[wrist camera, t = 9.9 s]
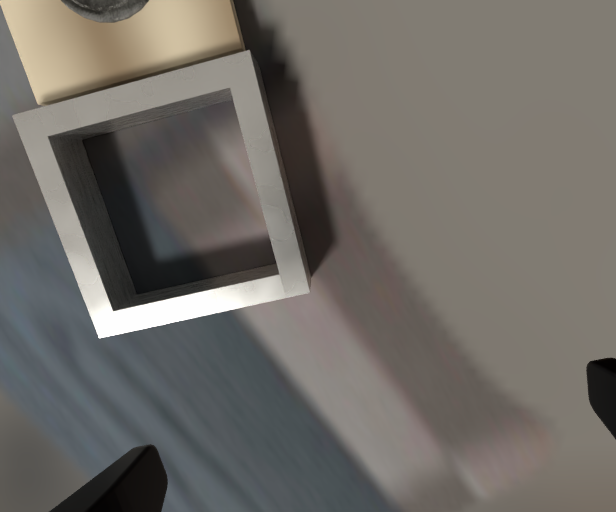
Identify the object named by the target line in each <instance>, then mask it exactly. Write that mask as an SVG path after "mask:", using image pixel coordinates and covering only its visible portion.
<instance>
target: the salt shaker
mask: <svg viewBox="0 0 616 512" xmlns="http://www.w3.org/2000/svg"><path fill="white" fill-rule="evenodd" d="M61 1H62V2H63V3H64V4H65V5H66V6H67V7H68V8H69V9H71V10H72V11H74V12H75V13H77V14H79V15H80V16H82V17H83V18H86V19H89V20H93V21H96V22H100V23H115V22H118V21H122V20H125V19H128V18H130V17H132V16H133V15H134V14H136V13H137V12H139V11H140V10H142V8H143V7H144V6H145V5H146V4H147V2H148V1H149V0H61Z"/></svg>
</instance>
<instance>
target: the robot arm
mask: <svg viewBox="0 0 616 512" xmlns="http://www.w3.org/2000/svg"><path fill="white" fill-rule="evenodd" d="M586 371H587V381H588V382H587V383H588V395H589V401H590V404H591V406H592V408H593V410H594V411H595V413H596V414H597V416H598V417H599V418H600V419H601V421H602V422H603V423H604V424H605V426H606V427H607V428H608V430H609V431H610V432H611V434H612V435H613V436H614V438H615V439H616V359H615V358H604V359H599V360H594V361H590V362H589V363H588V364H587V370H586ZM167 484H168V479H167V474H166V471H165V469H164V466H163V463H162V461H161V458H160V456H159V453H158V450H157V448H156V447H155V446H154V445H151V444H150V445H144V446H139V447H135V448H133V449H131V450H130V451H129V452H127V453H126V454H125V455H123V456H122V457H121V458H119V459H118V460H117V461H115V462H114V463H113V464H111V465H110V466H109V467H108V468H106V469H105V470H104V471H102V472H101V473H100V474H98V475H97V476H96V477H94V478H93V479H92V480H90V481H89V482H88V483H86V484H85V485H84V486H82V487H81V488H80V489H79V490H77V491H76V492H75V493H73V494H72V495H71V496H69V497H68V498H67V499H65V500H64V501H63V502H61V503H60V504H59V505H58V506H56V507H55V508H53V509H52V510H51V511H50V512H161V510H162V506H163V502H164V498H165V494H166V490H167Z"/></svg>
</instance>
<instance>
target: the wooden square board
mask: <svg viewBox="0 0 616 512" xmlns="http://www.w3.org/2000/svg"><path fill="white" fill-rule="evenodd" d="M0 5H1V7H2V10H3V13H4V15H5V18H6V21H7V23H8V26H9V29H10V31H11V34H12V37H13V39H14V42H15V45H16V47H17V50H18V53H19V55H20V58H21V61H22V63H23V66H24V69H25V71H26V74H27V77H28V79H29V82H30V85H31V87H32V90H33V93H34V95H35V98H36V101H37V103H38V104H39V105H43V106H48V105H51V104H55V103H59V102H62V101H66V100H70V99H73V98H77V97H80V96H84V95H88V94H91V93H95V92H99V91H102V90H106V89H109V88H113V87H117V86H120V85H124V84H128V83H131V82H135V81H138V80H142V79H146V78H149V77H153V76H157V75H160V74H164V73H167V72H171V71H175V70H178V69H182V68H186V67H189V66H193V65H196V64H200V63H204V62H207V61H211V60H215V59H218V58H222V57H225V56H229V55H233V54H236V53H240V52H244V51H246V50H245V46H244V42H243V38H242V34H241V30H240V26H239V22H238V18H237V14H236V10H235V6H234V2H233V0H149V1H148V2H147V4H146V5H145V6H144V7H143V8H142V10H140V11H139V12H137V13H136V14H134V15H133V16H132V17H130V18H128V19H125V20H122V21H118V22H115V23H100V22H96V21H93V20H89V19H86V18H83V17H82V16H80V15H79V14H77V13H75V12H74V11H72V10H71V9H69V8H68V7H67V6H66V5H65V4H64V3H63V2H62V1H61V0H0Z"/></svg>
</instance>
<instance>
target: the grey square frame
mask: <svg viewBox="0 0 616 512" xmlns="http://www.w3.org/2000/svg"><path fill="white" fill-rule="evenodd" d="M230 100H233V101H234V105H235V108H236V112H237V116H238V120H239V123H240V127H241V131H242V135H243V138H244V142H245V146H246V150H247V154H248V157H249V161H250V165H251V169H252V172H253V176H254V180H255V184H256V187H257V191H258V195H259V199H260V203H261V206H262V210H263V214H264V218H265V221H266V225H267V229H268V233H269V236H270V240H271V244H272V248H273V252H274V255H275V259H276V264H271V265H267V266H262V267H258V268H253V269H249V270H244V271H240V272H236V273H231V274H227V275H222V276H218V277H213V278H209V279H204V280H200V281H196V282H191V283H187V284H182V285H178V286H173V287H169V288H164V289H160V290H155V291H151V292H147V293H142V294H138V295H137V293H136V291H135V288H134V285H133V282H132V279H131V277H130V274H129V271H128V268H127V265H126V263H125V260H124V257H123V254H122V251H121V249H120V246H119V243H118V240H117V237H116V235H115V232H114V229H113V226H112V223H111V221H110V218H109V215H108V212H107V209H106V207H105V204H104V201H103V198H102V195H101V193H100V190H99V187H98V184H97V181H96V179H95V176H94V173H93V170H92V167H91V165H90V162H89V159H88V156H87V153H86V151H85V148H84V145H83V142H82V140H83V139H87V138H91V137H94V136H98V135H102V134H106V133H109V132H113V131H117V130H121V129H124V128H128V127H132V126H136V125H140V124H143V123H147V122H151V121H155V120H158V119H162V118H166V117H170V116H174V115H177V114H181V113H185V112H189V111H192V110H196V109H200V108H204V107H207V106H211V105H215V104H219V103H223V102H226V101H230ZM12 116H13V119H14V122H15V124H16V127H17V129H18V132H19V134H20V137H21V139H22V142H23V145H24V147H25V150H26V152H27V155H28V157H29V160H30V162H31V165H32V168H33V170H34V173H35V175H36V178H37V180H38V183H39V185H40V188H41V191H42V193H43V196H44V198H45V201H46V203H47V206H48V208H49V211H50V214H51V216H52V219H53V221H54V224H55V226H56V229H57V231H58V234H59V237H60V239H61V242H62V244H63V247H64V249H65V252H66V254H67V257H68V260H69V262H70V265H71V267H72V270H73V272H74V275H75V277H76V280H77V283H78V285H79V288H80V290H81V293H82V295H83V298H84V301H85V303H86V306H87V308H88V311H89V313H90V316H91V318H92V321H93V324H94V326H95V329H96V331H97V334H98V336H99V338H103V337H107V336H112V335H117V334H121V333H126V332H130V331H135V330H140V329H144V328H149V327H154V326H158V325H163V324H167V323H172V322H177V321H181V320H186V319H191V318H195V317H200V316H204V315H209V314H214V313H218V312H223V311H228V310H232V309H237V308H241V307H246V306H251V305H255V304H260V303H265V302H269V301H274V300H278V299H283V298H288V297H292V296H297V295H302V294H306V293H310V287H311V274H310V270H309V266H308V262H307V258H306V254H305V250H304V246H303V242H302V238H301V234H300V230H299V226H298V221H297V217H296V213H295V209H294V205H293V201H292V197H291V193H290V189H289V185H288V181H287V177H286V173H285V169H284V165H283V161H282V157H281V152H280V148H279V144H278V140H277V136H276V132H275V128H274V124H273V120H272V116H271V112H270V108H269V104H268V100H267V96H266V92H265V87H264V83H263V79H262V75H261V71H260V67H259V64H258V63H257V61H256V59H255V58H254V56H253V55H252V53H251V51H250V50H247V51H244V52H240V53H236V54H233V55H229V56H225V57H222V58H218V59H215V60H211V61H207V62H204V63H200V64H196V65H193V66H189V67H186V68H182V69H178V70H175V71H171V72H167V73H164V74H160V75H157V76H153V77H149V78H146V79H142V80H138V81H135V82H131V83H128V84H124V85H120V86H117V87H113V88H109V89H106V90H102V91H99V92H95V93H91V94H88V95H84V96H80V97H77V98H73V99H70V100H66V101H62V102H59V103H55V104H51V105H48V106H44V107H40V108H37V109H33V110H30V111H26V112H22V113H19V114H15V115H12Z"/></svg>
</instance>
